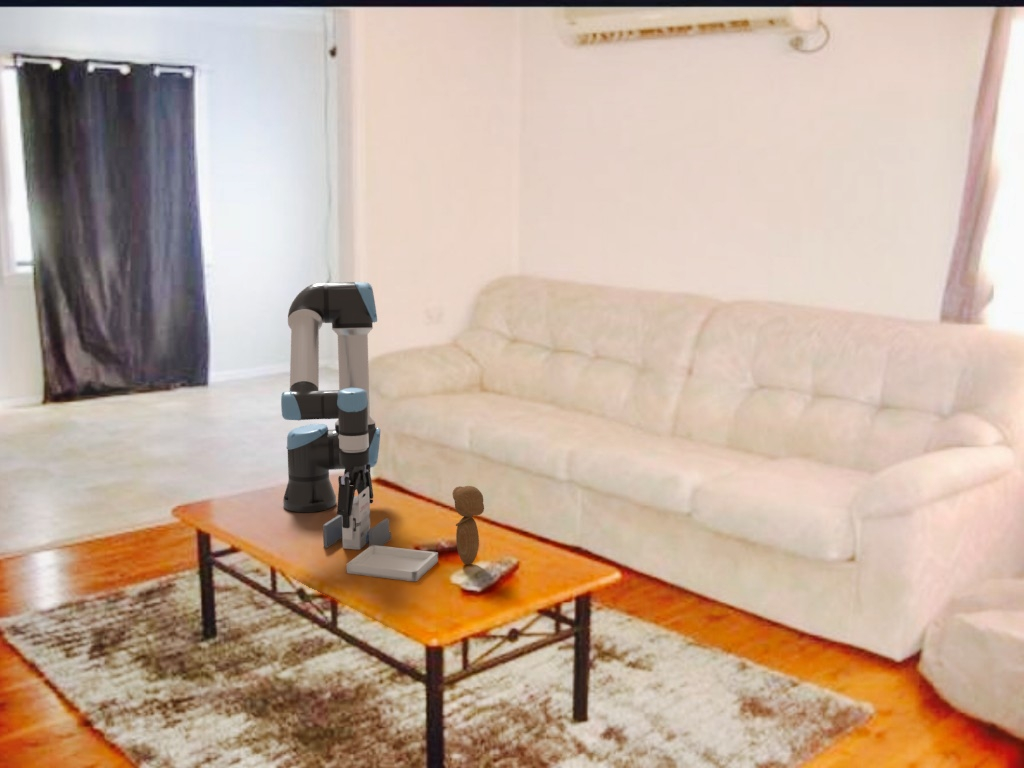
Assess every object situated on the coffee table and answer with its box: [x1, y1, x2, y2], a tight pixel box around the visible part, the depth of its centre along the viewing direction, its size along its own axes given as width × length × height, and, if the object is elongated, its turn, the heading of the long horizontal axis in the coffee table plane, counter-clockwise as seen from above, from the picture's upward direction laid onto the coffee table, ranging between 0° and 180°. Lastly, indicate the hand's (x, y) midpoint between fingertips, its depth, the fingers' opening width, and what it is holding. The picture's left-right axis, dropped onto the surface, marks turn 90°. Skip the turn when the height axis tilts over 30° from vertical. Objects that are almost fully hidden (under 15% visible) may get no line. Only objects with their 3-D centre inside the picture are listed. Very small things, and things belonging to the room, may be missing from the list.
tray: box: [346, 545, 439, 582], centre depth 253 cm, size 14×18×2 cm
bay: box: [322, 515, 392, 549], centre depth 269 cm, size 11×14×6 cm
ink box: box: [341, 486, 371, 551], centre depth 268 cm, size 9×5×15 cm, turn 168°
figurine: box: [452, 485, 485, 566], centre depth 253 cm, size 9×7×20 cm
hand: (356, 533), depth 269 cm, fingers closed on ink box, 9 cm apart
